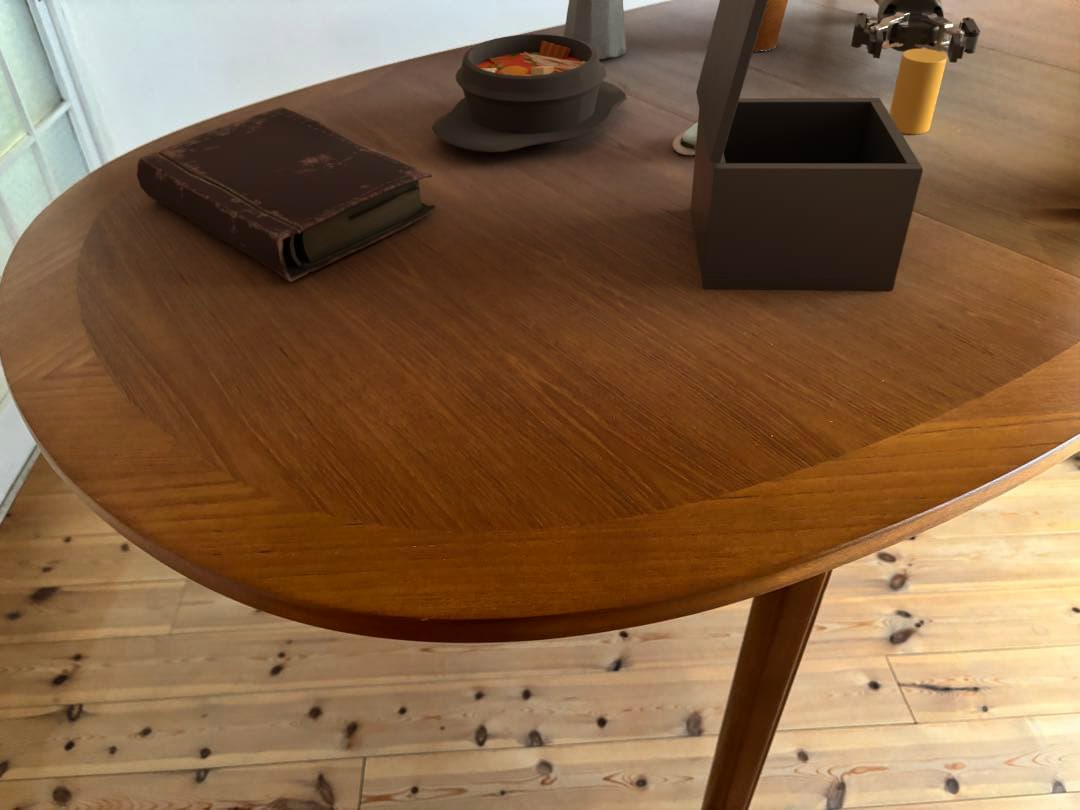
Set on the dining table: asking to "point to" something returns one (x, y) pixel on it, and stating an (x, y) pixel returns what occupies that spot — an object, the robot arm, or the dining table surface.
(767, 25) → the disposable coffee cup
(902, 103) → the yellow wooden peg
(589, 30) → the moka pot
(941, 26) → the robot arm
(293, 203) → the diary
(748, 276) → the dark open-top crate
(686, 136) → the pacifier
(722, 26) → the lid
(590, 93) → the casserole
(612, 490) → the dining table surface
